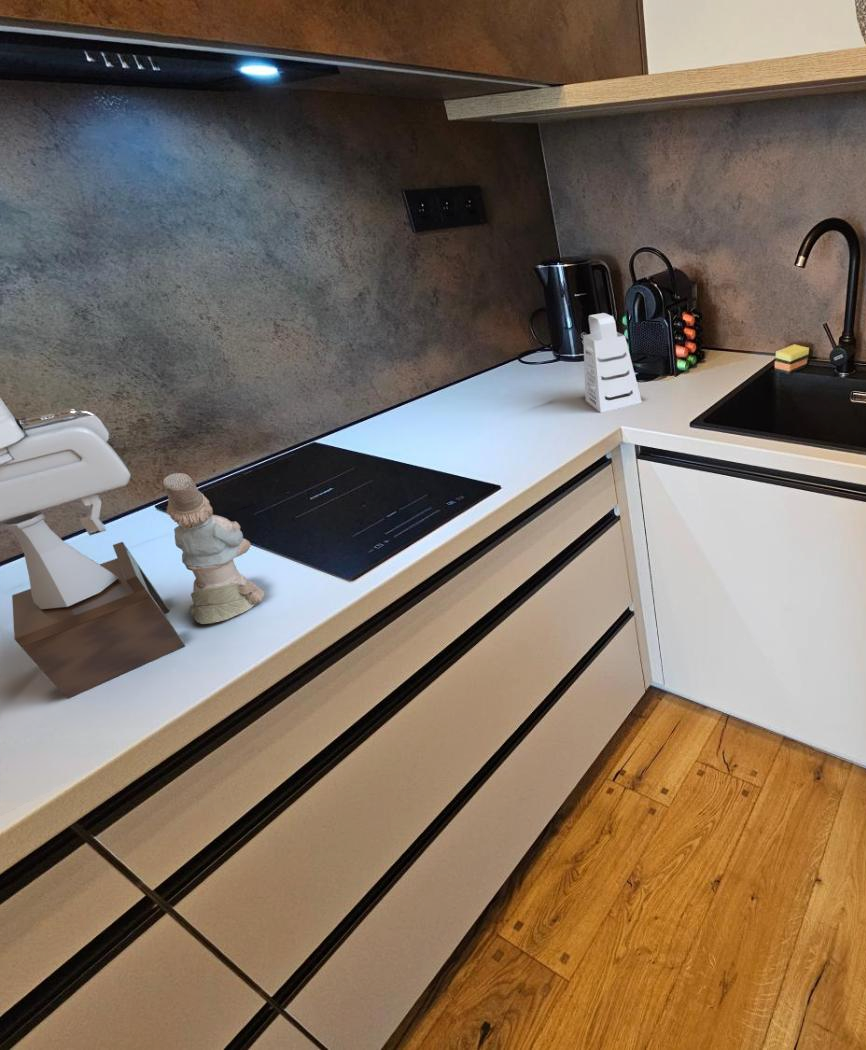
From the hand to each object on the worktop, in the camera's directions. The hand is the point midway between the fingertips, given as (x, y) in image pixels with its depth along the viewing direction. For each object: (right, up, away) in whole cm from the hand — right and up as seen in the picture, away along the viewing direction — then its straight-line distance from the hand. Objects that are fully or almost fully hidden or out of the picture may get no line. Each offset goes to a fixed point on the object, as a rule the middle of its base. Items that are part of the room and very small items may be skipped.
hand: (42, 549), depth 65 cm
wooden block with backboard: (+1, -13, +8) cm, 15 cm away
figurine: (+10, -8, +15) cm, 20 cm away
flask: (+1, -5, +3) cm, 6 cm away
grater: (+52, +32, +76) cm, 98 cm away
